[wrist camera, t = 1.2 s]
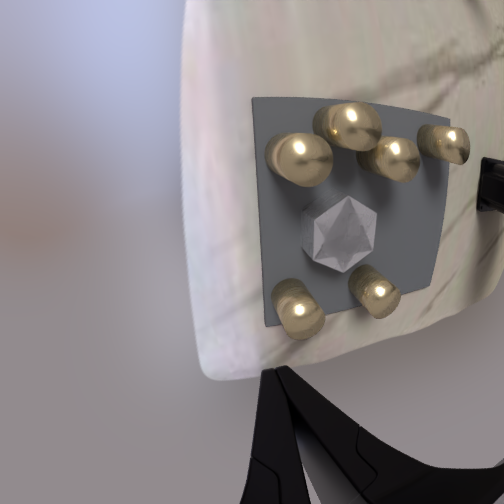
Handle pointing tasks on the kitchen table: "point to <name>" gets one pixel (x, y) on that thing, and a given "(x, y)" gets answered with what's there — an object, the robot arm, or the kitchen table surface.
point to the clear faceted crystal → (337, 230)
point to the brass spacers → (369, 159)
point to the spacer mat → (359, 188)
